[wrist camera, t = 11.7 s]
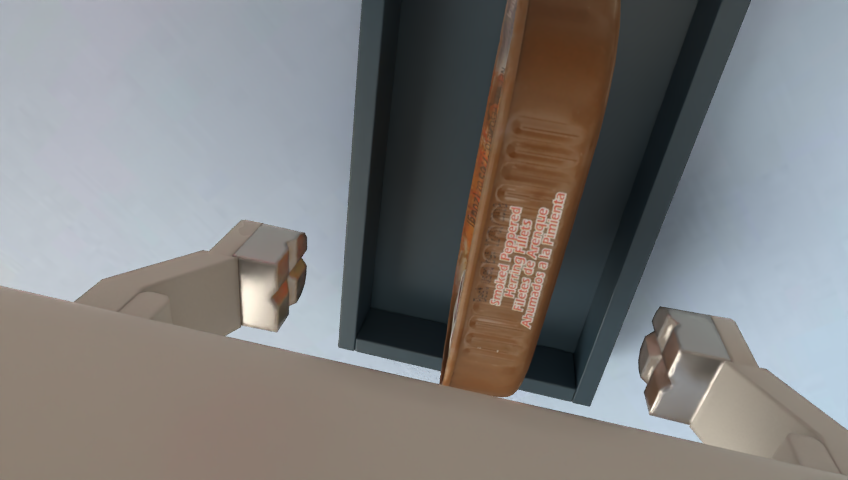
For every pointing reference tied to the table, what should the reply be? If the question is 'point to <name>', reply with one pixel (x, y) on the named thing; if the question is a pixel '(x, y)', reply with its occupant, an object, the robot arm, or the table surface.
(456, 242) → the tray
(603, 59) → the tin
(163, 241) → the table surface
